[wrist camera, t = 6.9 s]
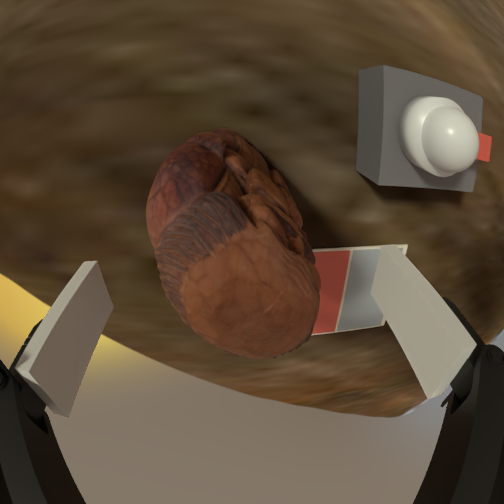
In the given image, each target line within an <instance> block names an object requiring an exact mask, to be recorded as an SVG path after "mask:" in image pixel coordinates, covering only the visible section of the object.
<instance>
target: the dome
mask: <svg viewBox="0 0 504 504" xmlns="http://www.w3.org/2000/svg"><path fill="white" fill-rule="evenodd" d="M398 134H399V141H400V145H401V148H402V150H403V152H404V154H405V156H406V157H407V158H408V160H409V161H410V162H411V163H413V164H414V165H416V166H417V167H419V168H421V169H423V170H425V171H428V172H429V173H431V174H433V175H436V176H439V177H448V176H451V175H453V174H455V173H457V172H461V171H464V170H466V169H467V168H469V167H470V166H471V165H472V164H473V163H474V161H475V160H476V158H477V155H478V151H479V136H478V133H477V130H476V127H475V125H474V124H473V122H472V121H471V119H470V118H469V117H468V116H467V115H466V114H465V113H464V111H463V110H462V109H461V107H460V106H459V105H458V104H456V103H455V102H454V101H452V100H450V99H448V98H443V97H433V96H419V97H416V98H414V99H412V100H411V101H410V102H409V103H408V104H407V105H406V106H405V108H404V109H403V111H402V113H401V116H400V120H399V126H398Z"/></svg>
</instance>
